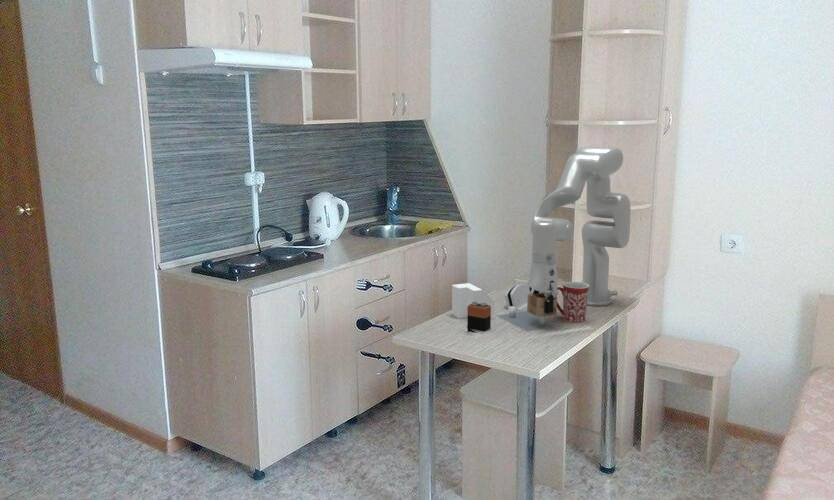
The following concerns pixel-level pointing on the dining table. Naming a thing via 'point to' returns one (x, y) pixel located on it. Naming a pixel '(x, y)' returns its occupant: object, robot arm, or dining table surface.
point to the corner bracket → (468, 299)
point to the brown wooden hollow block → (539, 305)
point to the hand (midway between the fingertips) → (542, 309)
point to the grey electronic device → (517, 297)
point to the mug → (574, 301)
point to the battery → (479, 317)
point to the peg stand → (526, 320)
